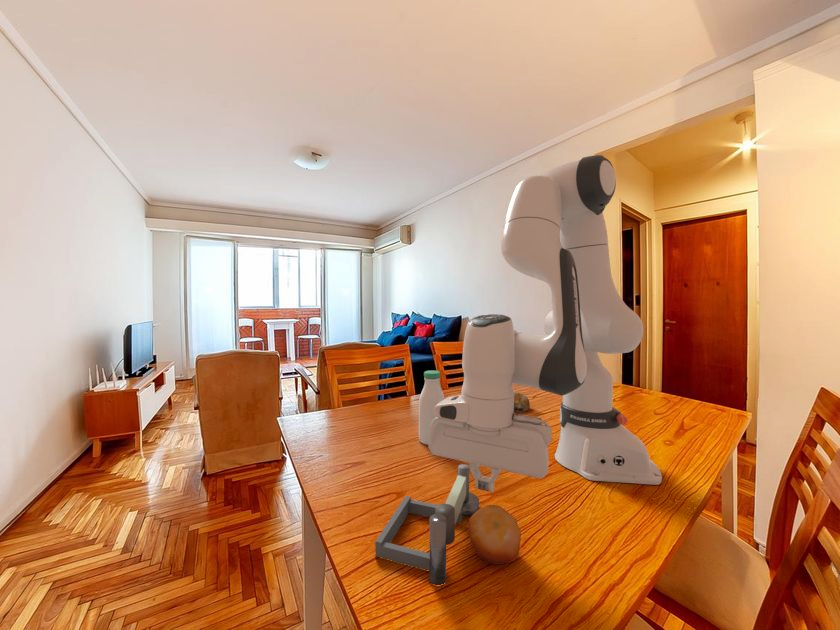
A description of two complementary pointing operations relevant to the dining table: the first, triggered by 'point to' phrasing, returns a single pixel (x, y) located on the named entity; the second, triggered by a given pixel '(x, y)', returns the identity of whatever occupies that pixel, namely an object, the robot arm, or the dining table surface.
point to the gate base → (470, 506)
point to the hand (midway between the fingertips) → (484, 488)
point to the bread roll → (520, 402)
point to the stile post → (437, 549)
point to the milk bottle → (429, 403)
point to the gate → (455, 502)
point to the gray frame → (392, 527)
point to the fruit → (495, 534)
